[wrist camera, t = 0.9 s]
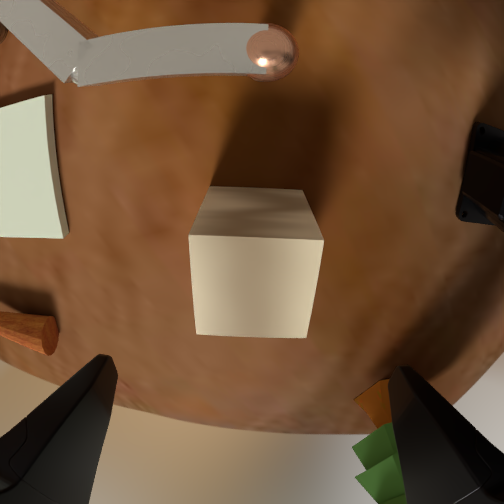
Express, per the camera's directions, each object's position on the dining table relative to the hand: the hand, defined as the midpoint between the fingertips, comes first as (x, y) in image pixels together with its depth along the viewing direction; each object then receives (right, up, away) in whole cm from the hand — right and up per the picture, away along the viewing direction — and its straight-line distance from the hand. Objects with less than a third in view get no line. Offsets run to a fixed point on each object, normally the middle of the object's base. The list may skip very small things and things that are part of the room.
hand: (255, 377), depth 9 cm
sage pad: (-17, +9, +7) cm, 20 cm away
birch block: (0, +5, +9) cm, 10 cm away
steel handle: (-8, +15, +4) cm, 17 cm away
